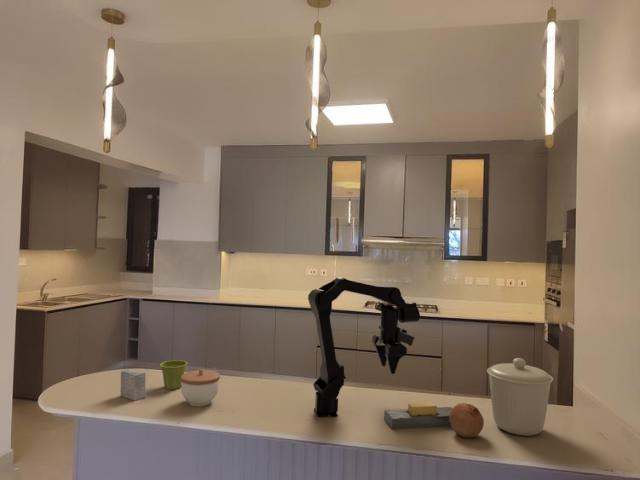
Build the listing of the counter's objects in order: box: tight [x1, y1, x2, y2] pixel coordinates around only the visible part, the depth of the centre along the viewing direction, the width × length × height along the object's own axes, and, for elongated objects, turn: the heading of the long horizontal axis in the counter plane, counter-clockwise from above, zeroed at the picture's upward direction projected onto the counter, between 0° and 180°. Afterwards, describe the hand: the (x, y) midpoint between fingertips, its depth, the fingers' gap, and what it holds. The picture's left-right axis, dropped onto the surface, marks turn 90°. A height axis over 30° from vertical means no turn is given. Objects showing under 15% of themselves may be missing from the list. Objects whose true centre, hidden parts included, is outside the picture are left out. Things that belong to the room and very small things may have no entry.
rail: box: [383, 406, 453, 430], centre depth 136 cm, size 22×7×3 cm, turn 100°
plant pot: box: [159, 359, 188, 391], centre depth 163 cm, size 9×9×9 cm
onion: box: [449, 402, 485, 438], centre depth 128 cm, size 10×9×10 cm
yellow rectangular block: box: [407, 402, 438, 416], centre depth 136 cm, size 8×3×5 cm, turn 100°
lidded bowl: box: [181, 368, 221, 407], centre depth 148 cm, size 13×13×11 cm
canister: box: [486, 357, 554, 437], centre depth 133 cm, size 18×18×21 cm
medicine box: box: [120, 368, 147, 401], centre depth 152 cm, size 8×4×9 cm, turn 58°
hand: (388, 369), depth 150 cm, fingers open, 9 cm apart
